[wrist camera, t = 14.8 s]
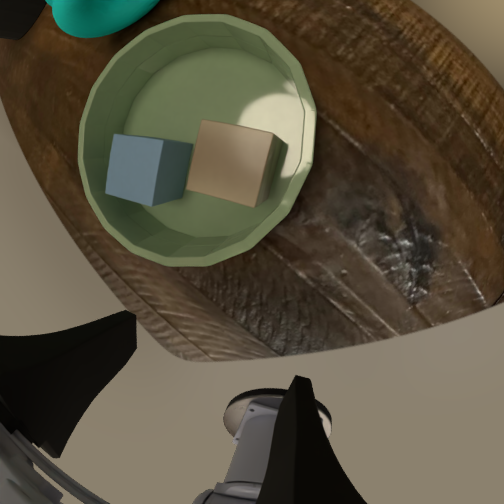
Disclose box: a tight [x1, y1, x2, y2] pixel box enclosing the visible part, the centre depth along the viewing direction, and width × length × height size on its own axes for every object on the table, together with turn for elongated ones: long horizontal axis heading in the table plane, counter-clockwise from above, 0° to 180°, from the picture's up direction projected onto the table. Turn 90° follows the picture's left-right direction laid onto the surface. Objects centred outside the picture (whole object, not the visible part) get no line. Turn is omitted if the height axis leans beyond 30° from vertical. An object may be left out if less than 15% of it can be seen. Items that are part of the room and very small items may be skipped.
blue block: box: [105, 134, 193, 207], centre depth 16 cm, size 4×4×4 cm
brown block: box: [186, 119, 283, 208], centre depth 15 cm, size 4×4×4 cm
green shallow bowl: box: [78, 14, 317, 267], centre depth 15 cm, size 15×15×5 cm
